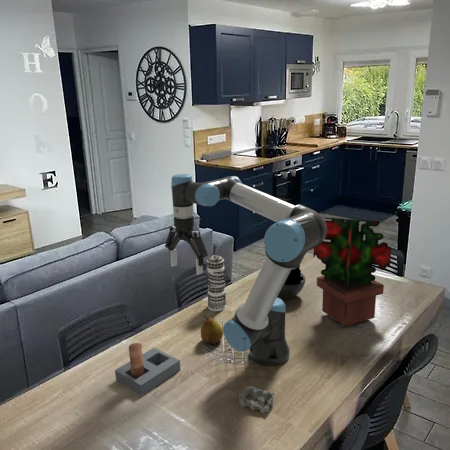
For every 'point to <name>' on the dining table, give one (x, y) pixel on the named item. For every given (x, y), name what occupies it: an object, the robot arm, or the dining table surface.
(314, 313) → the dining table surface
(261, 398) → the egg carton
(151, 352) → the socket block
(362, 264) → the potted plant
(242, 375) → the dining table surface
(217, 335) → the fruit
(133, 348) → the peg
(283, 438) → the dining table surface
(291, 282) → the bowl of black rocks
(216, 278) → the decorative candle
